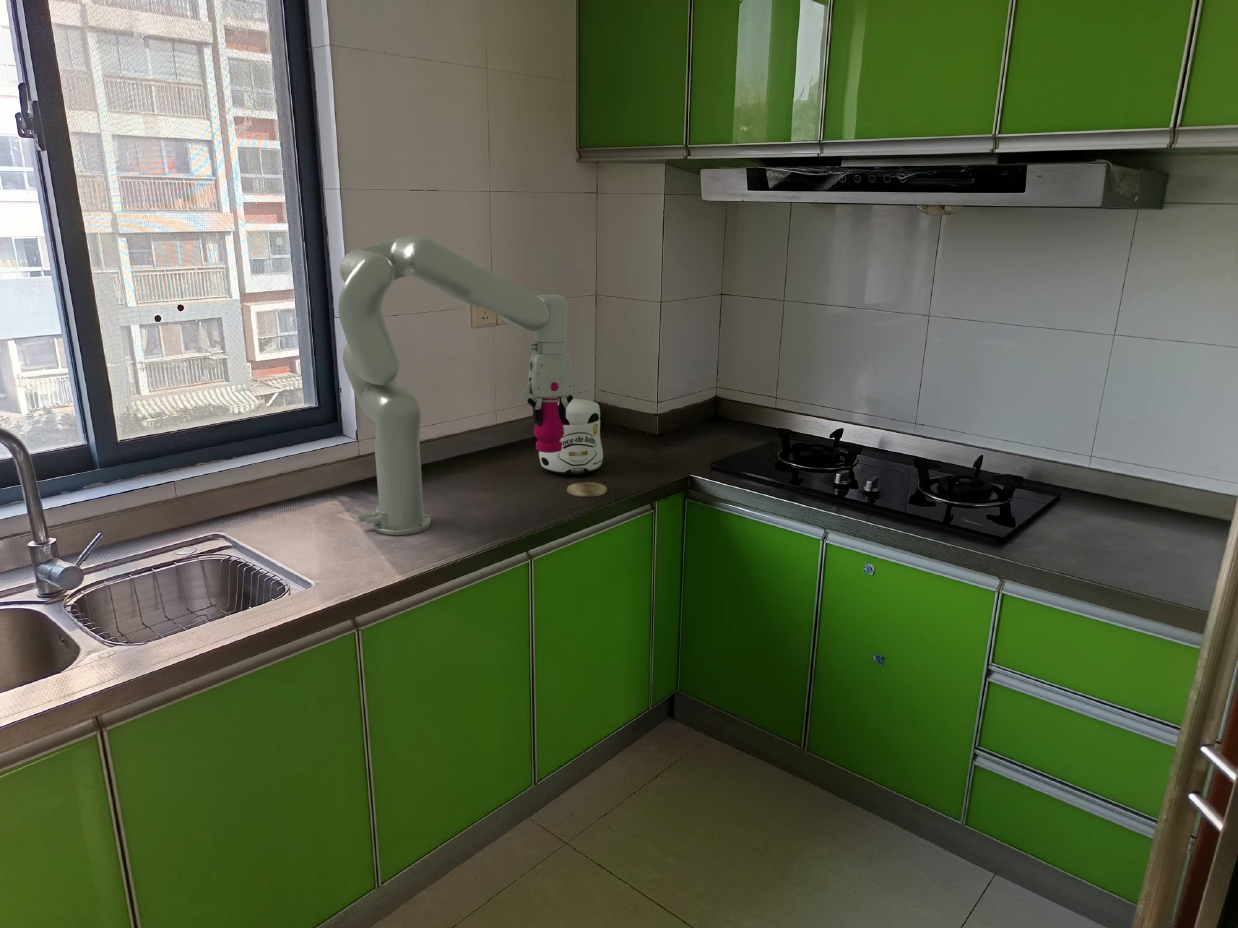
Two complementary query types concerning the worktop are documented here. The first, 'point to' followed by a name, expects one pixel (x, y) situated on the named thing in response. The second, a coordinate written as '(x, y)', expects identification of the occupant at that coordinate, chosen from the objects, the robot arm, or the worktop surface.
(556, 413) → the pepper mill
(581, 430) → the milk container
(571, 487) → the plate
